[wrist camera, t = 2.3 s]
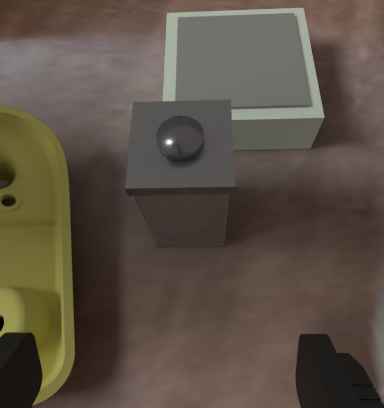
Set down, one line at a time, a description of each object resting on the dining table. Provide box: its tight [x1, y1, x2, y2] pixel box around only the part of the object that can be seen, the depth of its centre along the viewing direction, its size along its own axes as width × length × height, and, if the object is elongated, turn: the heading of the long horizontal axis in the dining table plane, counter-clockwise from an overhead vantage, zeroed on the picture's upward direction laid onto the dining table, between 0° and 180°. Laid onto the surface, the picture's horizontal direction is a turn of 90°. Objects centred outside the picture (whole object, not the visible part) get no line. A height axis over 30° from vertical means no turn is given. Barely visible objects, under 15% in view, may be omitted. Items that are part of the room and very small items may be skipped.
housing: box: [125, 100, 235, 248], centre depth 23 cm, size 5×5×11 cm
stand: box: [163, 8, 324, 150], centre depth 30 cm, size 12×12×4 cm
